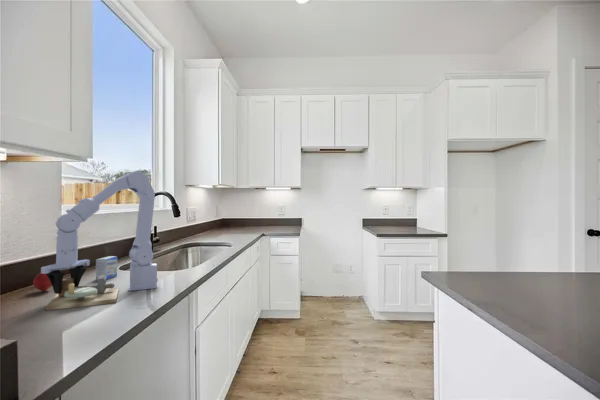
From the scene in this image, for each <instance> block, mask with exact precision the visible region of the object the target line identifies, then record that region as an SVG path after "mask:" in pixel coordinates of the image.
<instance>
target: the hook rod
mask: <svg viewBox="0 0 600 400" xmlns="http://www.w3.org/2000/svg"><path fill="white" fill-rule="evenodd" d="M69 284H74V278H71V277H70V278H69V277H68V278H63V280H62V290H61V293H60V294H58V297H61V296H64V293H65V292H66V291H68V290H69ZM84 287H93V288H96V289H97V284H91V285H90V284H89V285H80V286H77V287H74V289H76V288H84ZM114 288H115V283H114V282H110V283H106V284H105V289H114Z"/></svg>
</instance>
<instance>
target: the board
mask: <svg viewBox="0 0 600 400" xmlns="http://www.w3.org/2000/svg"><path fill="white" fill-rule="evenodd" d="M119 293H120V288H119V287H117V288H116V287H114V288H107V289H106V291H105V293H104V294H99V295H97V291H96V293H95V294H93V295H90V296H86V297H84V299H80V300H78V299H77V298H66V297H64V296H61V297H58V294H56V295H54V297H53V298H52V299H51V300H50V301H49V303H48V304H47V305H46V306H45V311H52V310H60V309H61V310H62V309H69V308H79V307H86V306H87V307H88V306H98V305H106V304H113V303H114V304H115V303H117V300H118V298H119V297H118V296H119Z"/></svg>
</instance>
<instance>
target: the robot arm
mask: <svg viewBox="0 0 600 400" xmlns="http://www.w3.org/2000/svg"><path fill="white" fill-rule="evenodd" d="M128 189H129V191H133V192H134V193H135V194H136V195H137V196H138V197H139V204H138V212H137V222H136V230H135V231H136V232H135V238H134V239H133V240H134V241H133V243H132V247H131V249H130V250H129V252H128V256H129V258H130V260H131V262H130V264H129V266H130V267H129V284H128V290H127V291H128V292H131V291H132V292H133V291H141V290H151V289H157V287H158V285H157V284H158V281H159V280H158V264H157V263H152V261H153V259H154V252H153V249H152V247H153V244H152V241H151V234H152V227H153V224H152V223H153V215H154V209H155V208H154V206H155V199H156V198H155V197H156V193H155V191H154V188H153V185H152V184H151V182H150V178H149V177H148V176H147V175H146V174H145V173H144V172H142V171H140V170H135V171H134V170H133V171H130V172H126V173H125V174H124V175H122V176H120V177H118V178H116V179H114V180H113V181H112V182H110V183H109V184H108V185H107V186H106V187H105V188H103V189H101V191H99V192H98V193H96V195H94V196H93V197H85V198H84V199H83V198H81V199H79V200H78V203H76V205H74V206H73V207H71V208H70V209H69V208H68V209H67V210H65V212H66V213H65V214H64V213H63V214H61V215H60V216H59V217H58V218H56V222H55V226H56V227H57V230H56V231H57V232H56V234H57V236H56V245H55V246H56V247H55V248H56V249H55V251H56V254H55V255H56V257H55V263H53V264H49V265H46V266H42V267H40V272H41V273H43V274H46V276H47V277H48V278H49V280H50V282H51V284H52V286H51V287H52V290H53V292H54V294H56V295H57V294H60V293H61V290H62V280H63V279H64V275H65V272H61V271H63V270H64V271H65V270H69V274H70V278H74V287H77V286H79V285H80V282H81V279H82V278H83V276H84V274H85V272H86V271H87V267H88V266H90V263H91V260H90V259H80V260H78V255H79V254H78V253H79V249H78V247H79V235H78V230H79V228H80V226H81V223H84V222H86V221H87V220H88V219H90V218H91V217H92V216H93V215H95V214H96V213H97V212H99V210H100V206H101V204H103V203H104V202H105V201H107V200H108V199H109V198H111V197H112V196H114V195H115V194H116V193H118V192H120V191H123V190H128Z"/></svg>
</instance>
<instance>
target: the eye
mask: <svg viewBox="0 0 600 400" xmlns="http://www.w3.org/2000/svg"><path fill="white" fill-rule="evenodd" d="M105 284H107V280H106V275H99V277H98V280H97V283H96V285H97V295H99V294H104V293H105V291H106V289H105Z"/></svg>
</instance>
